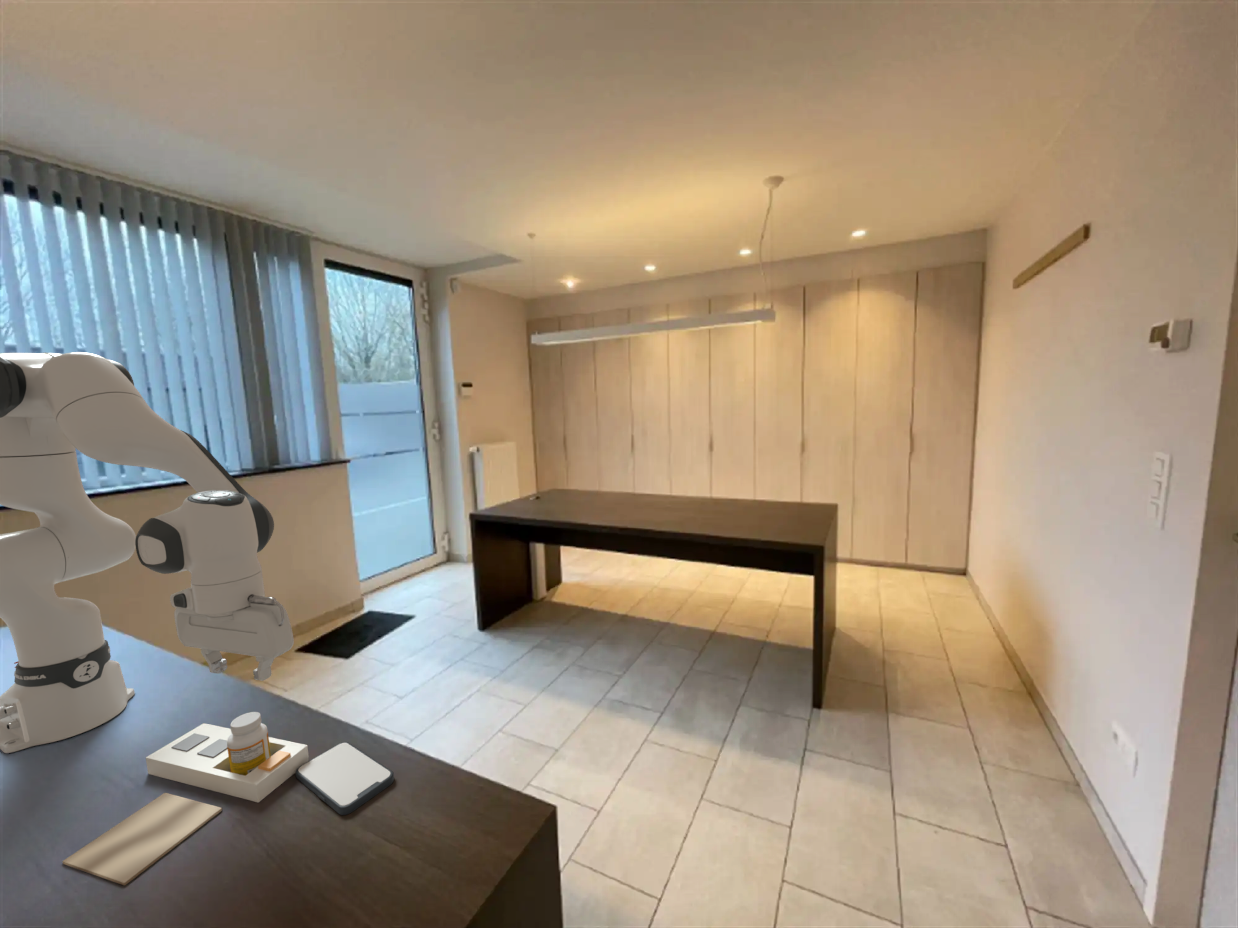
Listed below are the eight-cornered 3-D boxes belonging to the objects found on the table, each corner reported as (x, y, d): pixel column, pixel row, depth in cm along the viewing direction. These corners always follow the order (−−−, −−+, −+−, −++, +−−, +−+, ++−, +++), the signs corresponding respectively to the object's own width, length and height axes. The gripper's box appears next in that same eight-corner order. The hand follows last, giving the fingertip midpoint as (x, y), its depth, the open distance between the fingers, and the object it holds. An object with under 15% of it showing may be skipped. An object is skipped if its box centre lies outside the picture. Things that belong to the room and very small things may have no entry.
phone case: (292, 778, 81) (343, 820, 72) (291, 769, 81) (341, 811, 72) (346, 746, 88) (398, 781, 80) (345, 738, 88) (397, 772, 79)
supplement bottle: (246, 762, 84) (239, 709, 83) (279, 759, 85) (272, 707, 83) (223, 786, 79) (216, 731, 78) (259, 784, 79) (252, 728, 78)
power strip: (148, 773, 82) (145, 754, 81) (205, 737, 91) (203, 720, 90) (258, 802, 76) (255, 781, 75) (309, 760, 84) (307, 742, 84)
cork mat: (62, 863, 66) (62, 860, 66) (165, 794, 77) (164, 792, 77) (124, 885, 63) (124, 882, 63) (222, 810, 74) (221, 807, 74)
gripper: (299, 590, 78) (308, 672, 80) (204, 581, 83) (214, 657, 85) (261, 606, 72) (272, 694, 74) (161, 595, 77) (173, 677, 79)
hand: (240, 674), depth 79 cm, fingers open, 8 cm apart
